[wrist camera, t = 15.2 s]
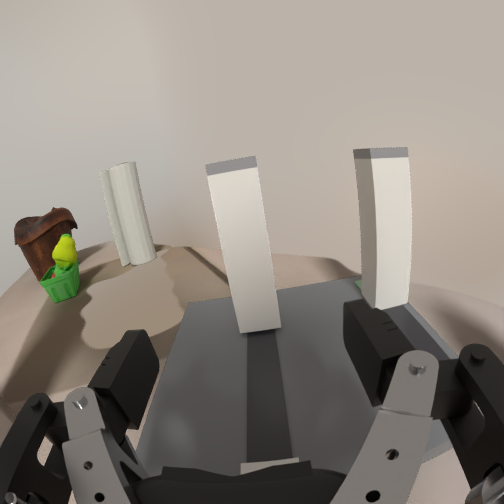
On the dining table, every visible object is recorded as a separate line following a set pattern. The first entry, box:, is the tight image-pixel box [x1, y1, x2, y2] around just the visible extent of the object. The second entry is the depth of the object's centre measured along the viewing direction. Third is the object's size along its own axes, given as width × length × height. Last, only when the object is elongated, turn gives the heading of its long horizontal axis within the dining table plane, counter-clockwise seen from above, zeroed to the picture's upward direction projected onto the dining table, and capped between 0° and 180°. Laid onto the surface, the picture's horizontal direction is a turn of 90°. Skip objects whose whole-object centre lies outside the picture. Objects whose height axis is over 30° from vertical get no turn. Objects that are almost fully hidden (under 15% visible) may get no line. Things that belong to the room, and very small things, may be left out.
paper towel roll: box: [99, 162, 157, 266], centre depth 53 cm, size 7×6×21 cm
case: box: [14, 207, 77, 282], centre depth 57 cm, size 18×20×18 cm
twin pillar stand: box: [136, 147, 483, 477], centre depth 17 cm, size 22×22×16 cm
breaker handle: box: [206, 156, 281, 333], centre depth 22 cm, size 4×4×14 cm
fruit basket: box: [40, 234, 80, 303], centre depth 43 cm, size 11×9×11 cm
